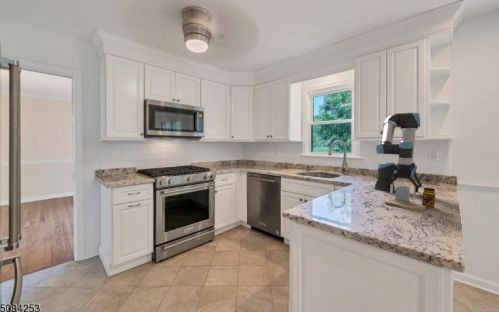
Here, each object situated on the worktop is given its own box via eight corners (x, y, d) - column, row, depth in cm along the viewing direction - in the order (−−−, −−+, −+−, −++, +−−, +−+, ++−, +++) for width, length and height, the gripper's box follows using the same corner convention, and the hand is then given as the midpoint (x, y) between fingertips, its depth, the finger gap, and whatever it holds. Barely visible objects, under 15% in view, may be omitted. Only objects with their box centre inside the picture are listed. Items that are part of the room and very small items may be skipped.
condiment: (423, 207, 137) (425, 188, 136) (417, 204, 145) (419, 186, 144) (437, 209, 135) (439, 189, 134) (431, 205, 143) (432, 187, 142)
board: (391, 201, 150) (391, 199, 150) (426, 208, 136) (426, 205, 136) (384, 204, 143) (385, 201, 143) (421, 212, 128) (421, 209, 128)
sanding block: (398, 199, 156) (399, 185, 155) (409, 201, 151) (410, 186, 150) (394, 201, 150) (396, 186, 150) (405, 203, 146) (406, 187, 145)
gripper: (382, 162, 156) (380, 192, 157) (426, 166, 137) (423, 199, 138) (386, 162, 161) (384, 190, 162) (429, 165, 142) (426, 198, 143)
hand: (402, 195), depth 150 cm, fingers open, 13 cm apart
